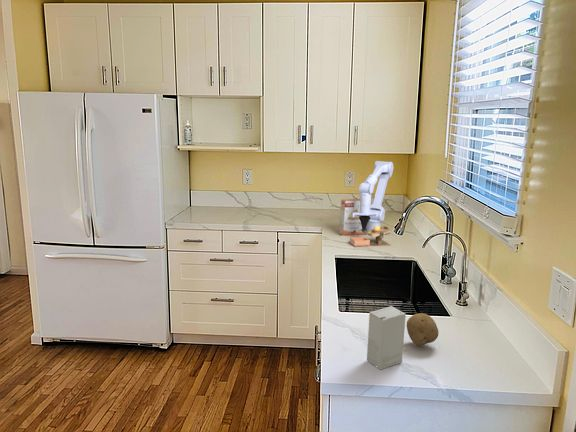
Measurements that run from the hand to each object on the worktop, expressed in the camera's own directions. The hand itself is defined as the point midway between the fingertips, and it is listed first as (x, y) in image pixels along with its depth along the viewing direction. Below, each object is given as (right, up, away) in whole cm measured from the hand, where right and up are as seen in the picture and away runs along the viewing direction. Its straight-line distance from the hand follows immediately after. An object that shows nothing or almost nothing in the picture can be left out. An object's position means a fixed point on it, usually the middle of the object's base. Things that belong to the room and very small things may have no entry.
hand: (363, 229), depth 256 cm
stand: (+2, -9, -7) cm, 11 cm away
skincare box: (-15, -33, -128) cm, 133 cm away
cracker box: (-4, -4, +16) cm, 17 cm away
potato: (-2, -31, -118) cm, 122 cm away
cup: (-4, -8, -9) cm, 12 cm away
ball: (+6, 0, -8) cm, 10 cm away
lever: (+6, -3, -3) cm, 7 cm away
